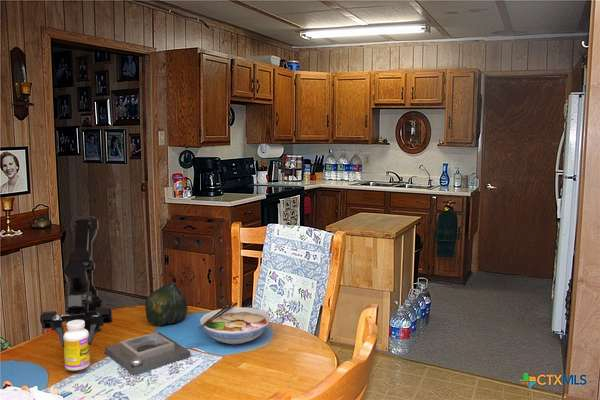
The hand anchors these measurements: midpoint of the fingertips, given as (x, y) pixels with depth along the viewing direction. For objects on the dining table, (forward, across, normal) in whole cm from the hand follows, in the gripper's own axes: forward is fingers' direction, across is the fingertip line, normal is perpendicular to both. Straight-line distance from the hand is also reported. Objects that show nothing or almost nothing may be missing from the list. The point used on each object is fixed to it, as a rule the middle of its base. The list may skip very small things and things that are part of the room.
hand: (76, 345), depth 147 cm
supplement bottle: (+4, 0, +6) cm, 7 cm away
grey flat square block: (+1, +19, +11) cm, 22 cm away
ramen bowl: (-2, +47, +14) cm, 49 cm away
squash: (-18, +26, +31) cm, 44 cm away
